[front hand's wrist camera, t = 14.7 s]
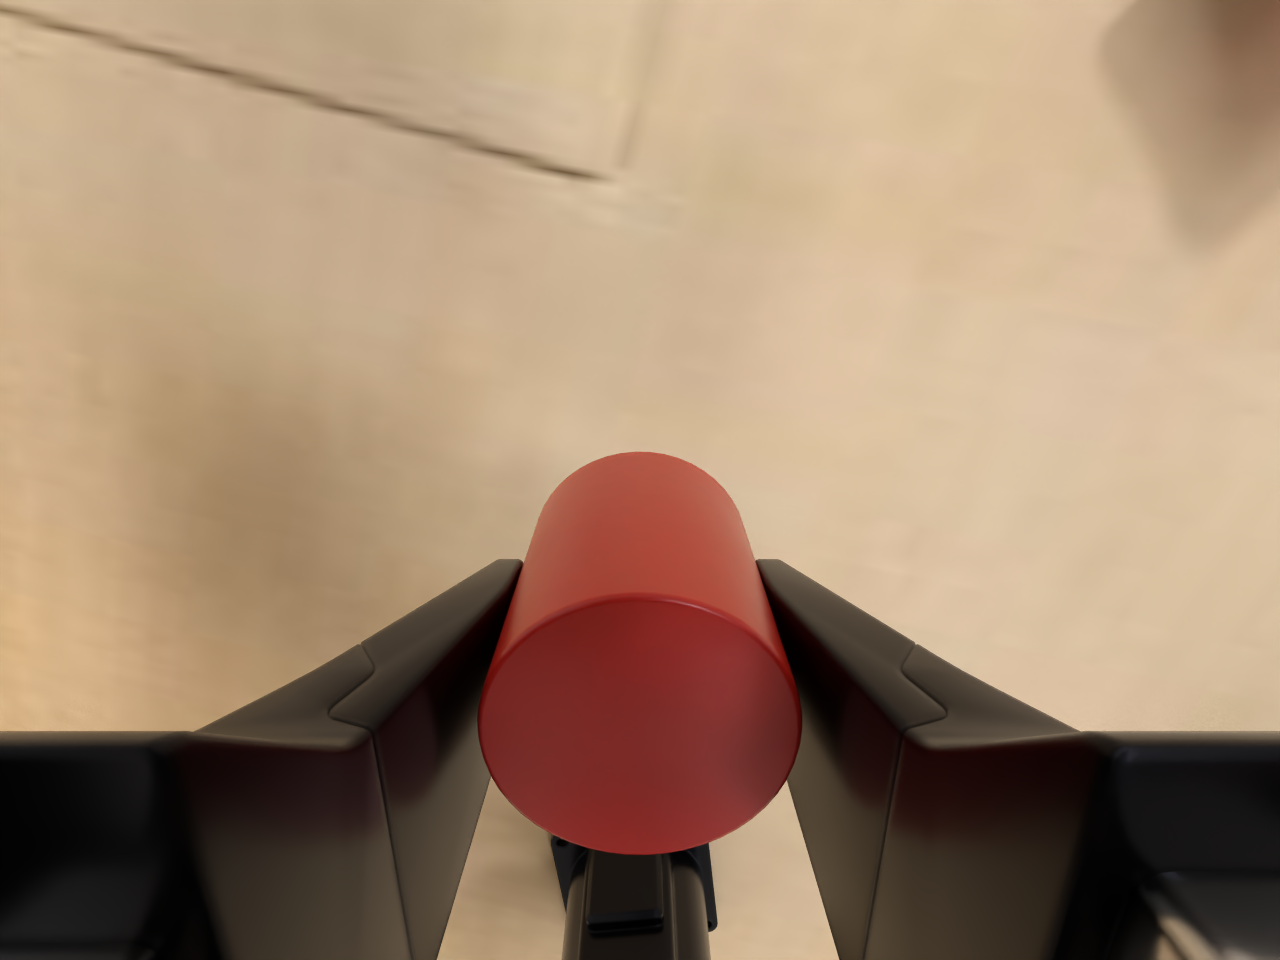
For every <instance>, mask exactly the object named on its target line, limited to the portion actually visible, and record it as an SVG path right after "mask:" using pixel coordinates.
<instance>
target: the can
mask: <svg viewBox="0 0 1280 960" xmlns="http://www.w3.org/2000/svg"><path fill="white" fill-rule="evenodd" d="M477 726H478V739H479V743H480V747H481V751H482V755H483V758H484V761H485V763H486V766H487V768H488V771H489V773H490V775H491V777H492V778H493V780H494V782H495V783H496V785H497V787H498V788H499V790H500V791H501V792H502V793H503V795H504V796H505V797H506V798H507V800H508V801H509V802H510V803H511V804H512V805H513V806H514V807H515V808H516V809H517V810H518V811H519V812H520V813H521V814H523V815H524V816H525V817H527V818H528V819H529V820H531V821H532V822H533V823H535V824H536V825H537V826H539V827H541V828H542V829H544V830H546V831H548V832H549V833H551V834H553V835H555V836H557V837H559V838H562V839H564V840H566V841H568V842H571V843H574V844H577V845H580V846H583V847H586V848H590V849H595V850H599V851H604V852H610V853H618V854H630V855H650V854H663V853H670V852H675V851H681V850H686V849H689V848H693V847H696V846H700V845H703V844H706V843H708V842H711V841H713V840H716V839H719V838H721V837H723V836H725V835H727V834H728V833H730V832H732V831H734V830H736V829H738V828H739V827H741V826H742V825H744V824H745V823H747V822H748V821H749V820H751V819H752V818H753V817H755V816H756V815H757V814H758V813H759V812H760V811H762V810H763V809H764V808H765V807H766V806H767V805H768V804H769V803H770V801H771V800H772V799H773V798H774V797H775V796H776V795H777V793H778V792H779V790H780V789H781V788H782V786H783V785H784V783H785V782H786V780H787V778H788V776H789V774H790V772H791V770H792V768H793V766H794V763H795V760H796V757H797V754H798V750H799V747H800V742H801V735H802V708H801V702H800V697H799V693H798V690H797V687H796V684H795V680H794V677H793V674H792V671H791V668H790V665H789V662H788V659H787V656H786V653H785V650H784V647H783V644H782V641H781V638H780V635H779V632H778V629H777V626H776V623H775V620H774V617H773V613H772V610H771V607H770V604H769V601H768V598H767V595H766V592H765V589H764V586H763V583H762V580H761V577H760V574H759V571H758V568H757V565H756V562H755V559H754V556H753V553H752V550H751V546H750V543H749V540H748V537H747V534H746V531H745V528H744V525H743V522H742V520H741V517H740V514H739V511H738V509H737V508H736V506H735V504H734V502H733V500H732V499H731V497H730V496H729V495H728V493H727V492H726V491H725V489H724V488H723V487H722V486H721V485H720V484H719V483H718V482H717V481H716V480H715V479H714V478H712V477H711V476H710V475H709V474H707V473H706V472H705V471H703V470H702V469H700V468H698V467H696V466H695V465H693V464H691V463H689V462H686V461H684V460H682V459H679V458H676V457H672V456H669V455H665V454H659V453H652V452H629V453H620V454H616V455H611V456H607V457H604V458H601V459H599V460H596V461H593V462H591V463H589V464H587V465H585V466H583V467H582V468H580V469H578V470H577V471H576V472H574V473H573V474H571V475H570V476H569V477H567V478H566V479H565V480H564V481H563V482H562V483H561V484H560V485H559V486H558V487H557V488H556V490H555V491H554V492H553V493H552V494H551V496H550V497H549V499H548V500H547V502H546V504H545V505H544V507H543V509H542V512H541V514H540V516H539V519H538V522H537V525H536V528H535V531H534V534H533V537H532V540H531V543H530V546H529V549H528V552H527V555H526V558H525V561H524V564H523V567H522V570H521V573H520V576H519V579H518V582H517V585H516V588H515V591H514V594H513V597H512V601H511V604H510V607H509V610H508V613H507V616H506V619H505V622H504V625H503V628H502V631H501V634H500V637H499V640H498V643H497V646H496V649H495V652H494V655H493V658H492V661H491V664H490V667H489V670H488V673H487V676H486V679H485V682H484V685H483V689H482V693H481V697H480V700H479V705H478V716H477Z"/></svg>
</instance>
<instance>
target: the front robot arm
mask: <svg viewBox="0 0 1280 960" xmlns="http://www.w3.org/2000/svg"><path fill="white" fill-rule="evenodd" d="M755 562H756V565H757V568H758V571H759V574H760V577H761V580H762V583H763V586H764V589H765V592H766V595H767V598H768V601H769V604H770V607H771V610H772V613H773V617H774V620H775V623H776V626H777V629H778V632H779V635H780V638H781V641H782V644H783V647H784V650H785V653H786V656H787V659H788V662H789V665H790V668H791V671H792V674H793V677H794V680H795V684H796V687H797V690H798V693H799V697H800V702H801V708H802V735H801V742H800V747H799V750H798V754H797V757H796V760H795V763H794V766H793V768H792V770H791V772H790V774H789V776H788V778H787V782H788V786H789V789H790V792H791V796H792V799H793V803H794V806H795V809H796V813H797V816H798V820H799V823H800V827H801V830H802V833H803V837H804V840H805V844H806V847H807V850H808V854H809V857H810V861H811V864H812V868H813V871H814V874H815V878H816V881H817V885H818V888H819V891H820V895H821V898H822V902H823V905H824V908H825V912H826V915H827V919H828V922H829V926H830V929H831V932H832V936H833V939H834V943H835V946H836V949H837V953H838V956H839V960H1280V731H1082V732H1081V731H1078V730H1076V729H1074V728H1072V727H1070V726H1068V725H1066V724H1064V723H1063V722H1061V721H1059V720H1057V719H1055V718H1053V717H1051V716H1049V715H1047V714H1045V713H1043V712H1041V711H1039V710H1037V709H1035V708H1033V707H1031V706H1029V705H1027V704H1025V703H1023V702H1021V701H1020V700H1018V699H1016V698H1014V697H1012V696H1010V695H1008V694H1006V693H1004V692H1002V691H1000V690H998V689H996V688H994V687H992V686H990V685H988V684H987V683H985V682H983V681H981V680H979V679H977V678H975V677H973V676H971V675H970V674H968V673H966V672H964V671H962V670H960V669H959V668H957V667H955V666H953V665H952V664H950V663H948V662H947V661H945V660H943V659H941V658H940V657H938V656H936V655H935V654H933V653H931V652H930V651H928V650H927V649H925V648H923V647H922V646H920V645H918V644H917V645H915V642H913V641H912V640H910V639H908V638H907V637H905V636H904V635H902V634H900V633H899V632H897V631H895V630H894V629H892V628H890V627H889V626H887V625H886V624H884V623H882V622H881V621H879V620H877V619H876V618H874V617H872V616H871V615H869V614H868V613H866V612H864V611H863V610H861V609H859V608H858V607H856V606H854V605H853V604H851V603H850V602H848V601H846V600H845V599H843V598H841V597H840V596H838V595H837V594H835V593H833V592H832V591H830V590H828V589H827V588H825V587H823V586H822V585H820V584H819V583H817V582H815V581H814V580H812V579H810V578H809V577H807V576H805V575H804V574H802V573H801V572H799V571H797V570H796V569H794V568H792V567H791V566H789V565H787V564H786V563H784V562H783V561H781V560H778V559H758V560H756V561H755ZM523 564H524V563H523V562H522V561H521V560H519V559H499V560H496V561H495V562H493V563H491V564H490V565H488V566H486V567H485V568H483V569H481V570H480V571H478V572H477V573H475V574H473V575H472V576H470V577H468V578H467V579H465V580H463V581H462V582H460V583H458V584H457V585H455V586H453V587H452V588H450V589H449V590H447V591H445V592H444V593H442V594H440V595H439V596H437V597H435V598H434V599H432V600H430V601H429V602H427V603H425V604H424V605H422V606H420V607H419V608H417V609H416V610H414V611H412V612H411V613H409V614H407V615H406V616H404V617H402V618H401V619H399V620H397V621H396V622H394V623H392V624H391V625H389V626H387V627H386V628H384V629H383V630H381V631H379V632H378V633H376V634H374V635H373V636H371V637H369V638H368V639H366V640H364V641H363V642H362V643H361V645H359V644H358V645H356V646H354V647H353V648H351V649H349V650H348V651H346V652H345V653H343V654H341V655H340V656H338V657H336V658H334V659H333V660H331V661H329V662H327V663H326V664H324V665H322V666H321V667H319V668H317V669H315V670H314V671H312V672H310V673H308V674H306V675H304V676H302V677H300V678H298V679H297V680H295V681H293V682H291V683H289V684H287V685H285V686H283V687H281V688H279V689H277V690H275V691H274V692H272V693H270V694H268V695H266V696H264V697H262V698H260V699H258V700H256V701H254V702H252V703H250V704H248V705H246V706H244V707H242V708H240V709H238V710H236V711H234V712H232V713H230V714H228V715H226V716H224V717H222V718H220V719H218V720H216V721H214V722H213V723H211V724H209V725H207V726H205V727H203V728H201V729H199V730H196V731H194V732H190V731H0V960H437V956H438V953H439V950H440V946H441V943H442V940H443V936H444V933H445V929H446V926H447V923H448V919H449V916H450V913H451V909H452V906H453V902H454V899H455V896H456V892H457V889H458V886H459V882H460V879H461V875H462V872H463V869H464V865H465V862H466V859H467V855H468V852H469V849H470V845H471V842H472V838H473V835H474V832H475V828H476V825H477V822H478V818H479V815H480V811H481V808H482V805H483V801H484V798H485V795H486V791H487V788H488V784H489V781H490V778H491V775H490V773H489V771H488V768H487V766H486V763H485V761H484V758H483V755H482V751H481V747H480V743H479V739H478V726H477V716H478V705H479V700H480V697H481V693H482V689H483V685H484V682H485V679H486V676H487V673H488V670H489V667H490V664H491V661H492V658H493V655H494V652H495V649H496V646H497V643H498V640H499V637H500V634H501V631H502V628H503V625H504V622H505V619H506V616H507V613H508V610H509V607H510V604H511V601H512V597H513V594H514V591H515V588H516V585H517V582H518V579H519V576H520V573H521V570H522V567H523ZM551 847H552V851H553V856H554V860H555V865H556V869H557V874H558V878H559V883H560V887H561V892H562V896H563V901H564V905H565V910H566V923H565V933H564V942H563V952H562V960H711V957H710V946H709V936H708V932H711V931H713V930H715V928H716V927H717V924H718V923H717V914H716V905H715V896H714V887H713V878H712V869H711V860H710V852H709V843H706V844H703V845H700V846H696V847H693V848H689V849H686V850H681V851H675V852H670V853H663V854H650V855H630V854H618V853H610V852H604V851H599V850H595V849H590V848H586V847H583V846H580V845H577V844H574V843H571V842H568V841H566V840H564V839H561V838H559V837H557V836H555V835H553V834H552V837H551Z"/></svg>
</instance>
